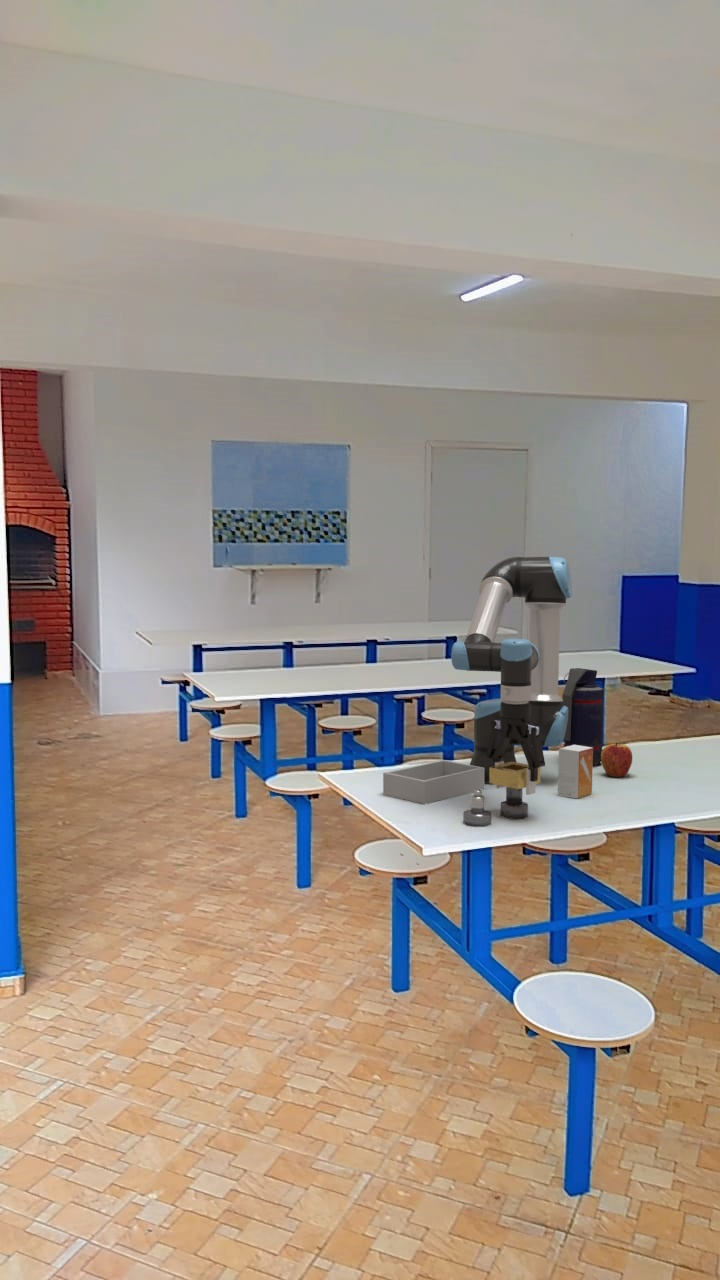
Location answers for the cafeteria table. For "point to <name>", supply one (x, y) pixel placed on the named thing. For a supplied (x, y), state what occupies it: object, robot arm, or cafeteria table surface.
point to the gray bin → (433, 781)
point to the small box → (575, 771)
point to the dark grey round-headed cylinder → (513, 805)
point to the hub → (477, 812)
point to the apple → (616, 759)
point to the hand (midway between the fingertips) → (514, 790)
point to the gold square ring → (510, 775)
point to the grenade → (584, 711)
